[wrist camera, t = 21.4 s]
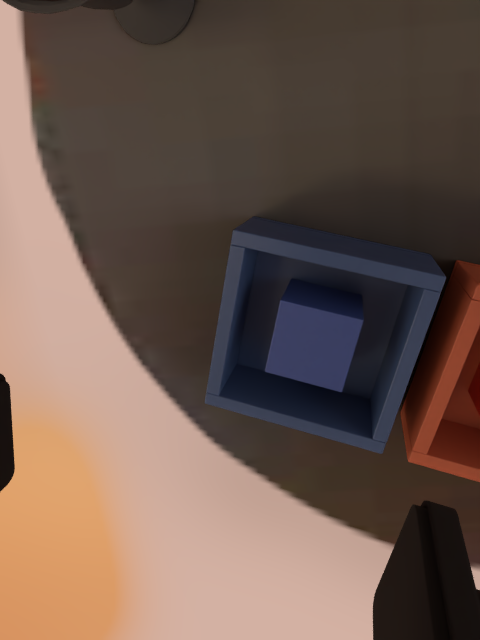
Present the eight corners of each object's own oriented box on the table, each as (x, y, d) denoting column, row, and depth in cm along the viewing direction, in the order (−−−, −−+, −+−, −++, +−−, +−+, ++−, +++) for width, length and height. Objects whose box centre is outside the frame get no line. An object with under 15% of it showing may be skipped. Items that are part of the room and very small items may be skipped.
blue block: (291, 278, 28) (280, 299, 24) (362, 294, 27) (363, 320, 23) (276, 341, 30) (264, 372, 26) (343, 359, 29) (341, 392, 25)
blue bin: (253, 215, 28) (232, 229, 23) (431, 254, 26) (447, 276, 21) (226, 366, 32) (204, 403, 27) (378, 407, 30) (382, 454, 26)
